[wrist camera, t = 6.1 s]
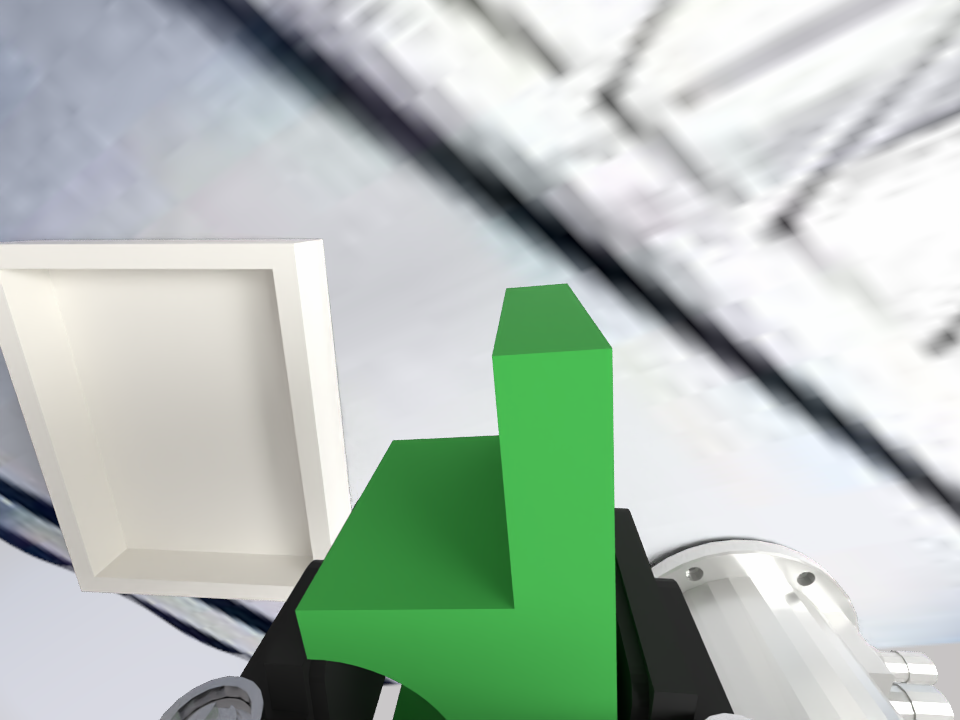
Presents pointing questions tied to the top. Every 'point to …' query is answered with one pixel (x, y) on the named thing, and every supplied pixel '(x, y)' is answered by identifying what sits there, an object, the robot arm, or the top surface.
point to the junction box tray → (180, 408)
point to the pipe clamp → (491, 542)
